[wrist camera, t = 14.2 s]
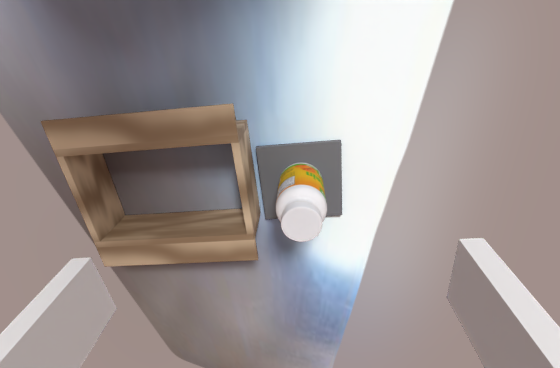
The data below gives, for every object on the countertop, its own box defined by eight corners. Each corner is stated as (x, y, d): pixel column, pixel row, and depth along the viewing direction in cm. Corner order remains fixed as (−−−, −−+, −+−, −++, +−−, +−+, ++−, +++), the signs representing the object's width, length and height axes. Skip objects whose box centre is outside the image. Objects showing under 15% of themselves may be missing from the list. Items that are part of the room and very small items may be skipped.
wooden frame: (78, 108, 36) (40, 121, 31) (242, 93, 34) (232, 104, 29) (128, 238, 44) (104, 266, 39) (263, 231, 42) (258, 260, 37)
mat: (256, 146, 37) (255, 147, 36) (340, 139, 36) (341, 141, 35) (266, 216, 41) (265, 219, 41) (341, 212, 40) (342, 215, 40)
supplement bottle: (331, 183, 38) (341, 227, 29) (299, 208, 40) (299, 257, 31) (302, 152, 36) (304, 189, 28) (270, 179, 38) (261, 223, 29)
